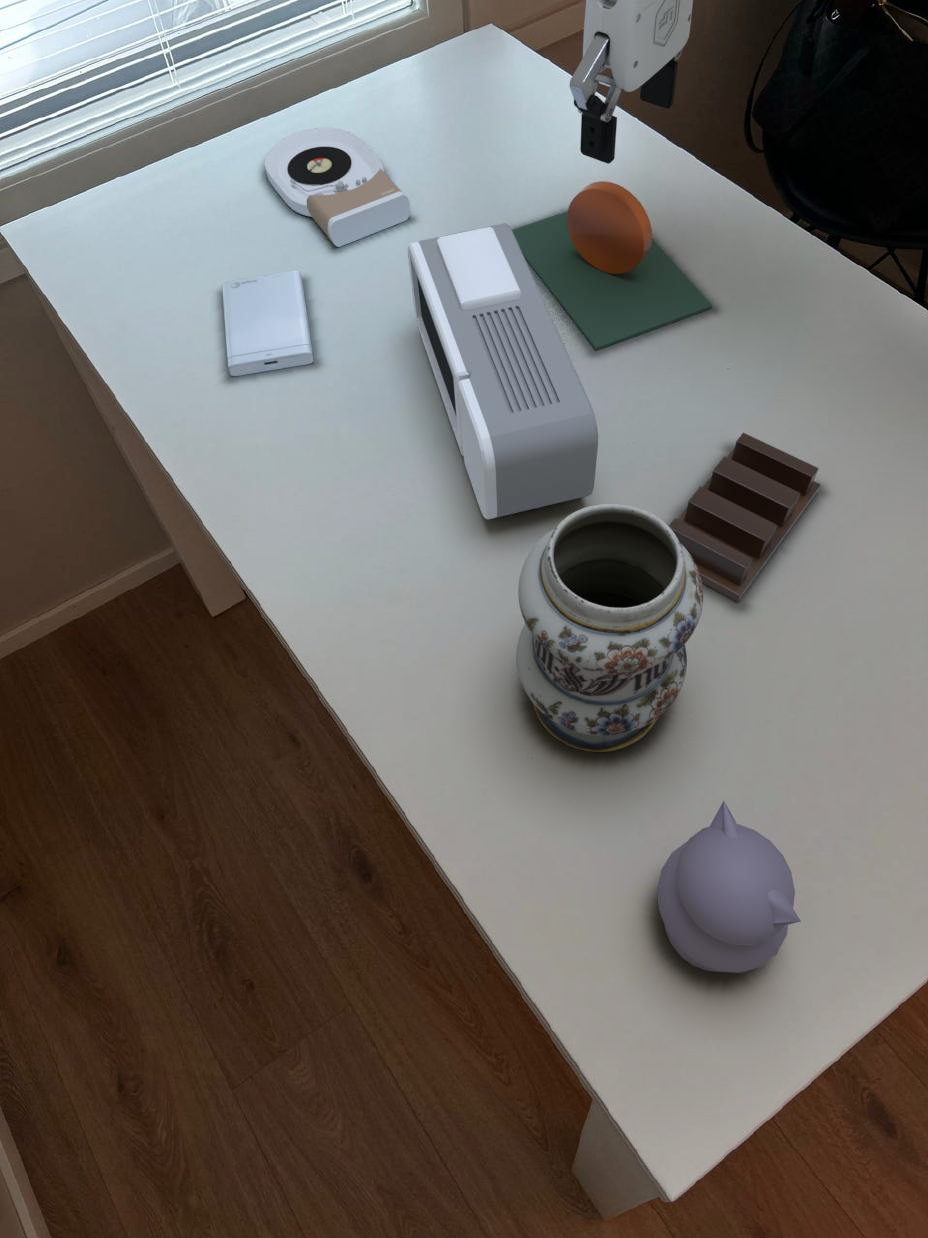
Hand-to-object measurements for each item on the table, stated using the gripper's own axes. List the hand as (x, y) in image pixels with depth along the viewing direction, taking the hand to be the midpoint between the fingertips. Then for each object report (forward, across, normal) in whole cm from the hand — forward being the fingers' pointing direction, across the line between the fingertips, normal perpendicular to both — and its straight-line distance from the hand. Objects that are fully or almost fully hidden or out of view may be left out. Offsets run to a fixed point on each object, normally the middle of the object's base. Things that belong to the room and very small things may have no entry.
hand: (627, 129), depth 86 cm
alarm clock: (+15, -23, -2) cm, 28 cm away
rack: (+16, -22, -26) cm, 37 cm away
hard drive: (+15, -26, +24) cm, 39 cm away
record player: (+15, -5, +34) cm, 38 cm away
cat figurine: (+16, -52, -41) cm, 68 cm away
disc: (+10, 0, +1) cm, 10 cm away
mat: (+15, 0, +1) cm, 15 cm away
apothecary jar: (+16, -42, -25) cm, 51 cm away
